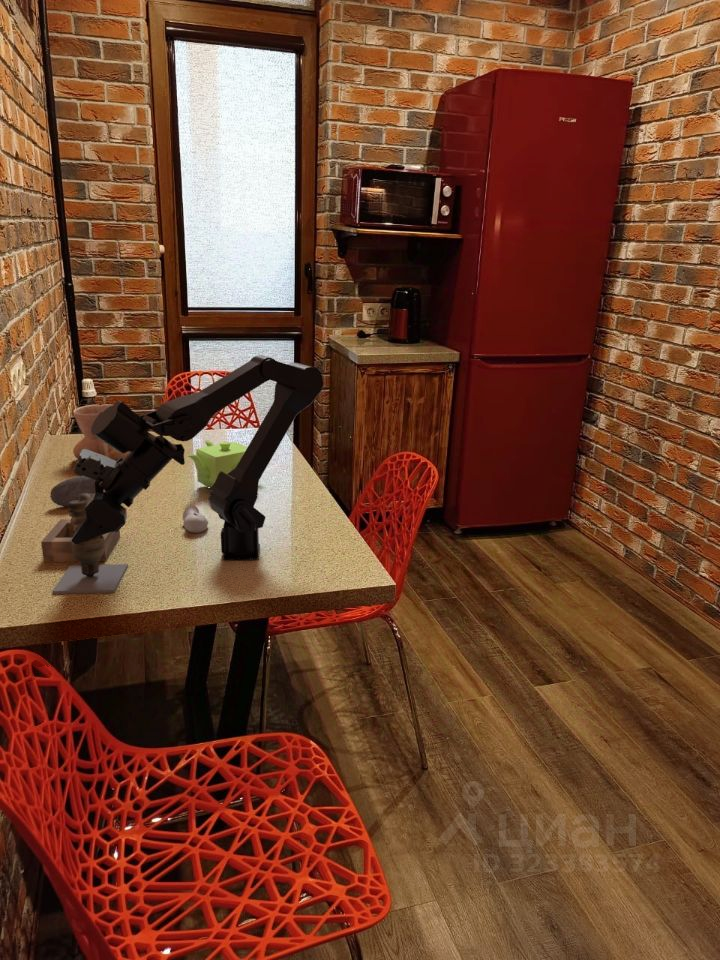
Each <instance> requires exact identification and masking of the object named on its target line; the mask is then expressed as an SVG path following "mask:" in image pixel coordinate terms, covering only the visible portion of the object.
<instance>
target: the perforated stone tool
mask: <svg viewBox="0 0 720 960" xmlns="http://www.w3.org/2000/svg"><path fill="white" fill-rule="evenodd" d="M50 490H51V491H50V495H49V496H50V501H52V502H53V503H54V504H56V505H57V506H60V507H68V503H69V502H70V501H74V500H80V499H79V496H80V494H84V493H89V494H95V480H94V479H91V478H88V477H85V476H79V475H76V476H75V477H71V478H68V479H65V480H64V481H63V480H62V481H61V482H59V483H56V485H54V486H53V487H52V488H51V489H50Z"/></svg>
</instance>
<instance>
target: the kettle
mask: <svg viewBox="0 0 720 960" xmlns="http://www.w3.org/2000/svg"><path fill="white" fill-rule="evenodd" d="M204 443H205V445H206V446H204V447H198V448H196V449H195V453H190V454H185V456H186V457H188V458H190V459H191V460H192V461H193V463H194V465H195V469H196V474H197V475H196V476H197V477H196V478H197V482H198V483H199V484H202V485H204V486H205V487H206V486H207V487H211V486H213V484H214V483H215V481H216V479H217V476H218V474H219V473H220V472H221V471H222V472H224V473H226V474H228V473H229V472H231V471H232V470H234V469H235V468H236V466H237V465H238V463H239V461H240V460H241V458H242V456H243V454H244V453H245V451H246V449H247V448H248V446H247V445H246V446H245V445H243V444H241V443H238V442H236V441H232V442H229V441H221V442H219V444H215V445H214V444H213V443H212V441H211V440H209V439H204ZM207 487H206V488H207Z"/></svg>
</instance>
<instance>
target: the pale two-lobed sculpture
mask: <svg viewBox="0 0 720 960" xmlns="http://www.w3.org/2000/svg"><path fill="white" fill-rule="evenodd" d="M182 519H183V526H184V528H185V529H186V530H187V531H188V532H190V533H193V534H194V533H195V534H197V533H202V532H205V530H206V529H207V528H208V525H209V521H208V520H207V518H206V517H205V516H204V515H203V514H202V513H200V510H199V508H198V506H197V505H195V504H191V505H188V506H187V507H186V508H185V509H184V511H183V512H182Z"/></svg>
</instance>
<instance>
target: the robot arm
mask: <svg viewBox="0 0 720 960" xmlns="http://www.w3.org/2000/svg"><path fill="white" fill-rule="evenodd" d="M323 377H324V376H323V375H322V372H321V371H320V369H318V368H317V367H315V366H311V365H306V364H303V363H298V362H291V363H283V362H281V361H278V360H275V359H274V358H272V357H269V356H266V355H262V354H257V355H255V356H253V357H252V358H251V359H250V360H249V361H247V362H246V363H244V364H243V365H240V366H239V367H237V368H236V369H234V370H232V371H231V372H229V373H228V374H226V375H224V376H223V377H221V378H219V379H217V380H216V381H215V382H212V384H210V385H208V386H206V387H204V388H202V389H201V390H200V391H197V392H194V393H191V394H186V395H182V396H178V397H176V398H174V399H170V400H168V401H165V402H164V403H162V404H160V405H159V406H158V407H157V409H156V410H153V411H150V412H147V413H143V414H140V415H138V413H136V412H135V411H133V410H132V409H131V408H130V407H129V405H127V404H126V403H124V402H123V401H121V400H119V399H117V400H116V401H115V402H114V403H113V404H111V405H112V406H110V407H108V408H107V409H106V410H104V411H103V412H102V413H100V414H99V415H98V416H97V418H96V419H95V421H94V423H93V425H92V428H91V433H92V434H93V435H95V436H96V437H98V438H99V439H101V440H102V441H104V442H105V443H107V444H108V445H110V446H111V447H112V448H114V449H115V450H117V451H118V452H120V453H126V452H128V451H130V453H129V454H128V455H127V456H125V455H124V456H123V457H122V456H121V457H120V458H119V459H118V460H117V461H115V460H113V459H110V458H108V457H106V456H104V455H101V454H98V453H95V452H93V451H90V450H87V449H82V451H81V453H80V455H79V457H78V459H76V463H75V465H74V468H73V470H72V473H74V474H75V475H76V476H85V477H88V478H91V479H94V480H95V494H94V495H93V496H92V497H91V498H90V500H89V501H88V502H87V503H86V506H85V512H86V518H85V520H84V521H83V523H82V524H81V526H80V527H79V529H78V530H77V532H76V533H75V535H74V537H73V538H72V540H71V541H72V542H73V543H74V544H76V545H77V544H80V543H82V542H85V541H87V540H90V539H92V538H95V537H98V536H100V535H103V534H106V533H109V532H118V531H119V530H121V529H122V528H123V527H124V526H125V525H126V522H127V518H128V513H127V508H130V506H132V505H133V503H134V500H135V498H136V497H137V496H138V495H139V494H140V493H141V492H142V491H143V490H145V491H146V490H148V488H149V487H150V485H151V481H153V479H155V478H156V476H157V475H159V473H160V472H161V471H162V470H164V468H165V467H166V466H167V465H168V464H169V463H170V462H171V461H172V460H173V461H175V462H176V463H178V464H179V465H182V466H184V465H185V464H186V462H185V451H186V450H185V447H184V446H183V444H182V443H179V444H178V443H173V442H171V441H170V440H169V439H167V438H166V437H170V438H172V439H173V440H176V441H179V442H187V441H190V440H192V439H194V438H195V437H196V436H197V435H198V434H200V432H201V431H203V430H204V429H205V428H206V427H207V426H208V424H209V422H210V421H211V419H212V418H213V417H214V416H215V415H216V414H217V413H218V412H220V411H223V409H225V408H227V407H228V406H229V405H231V404H233V403H235V402H236V401H238V400H239V399H241V398H242V397H245V395H247V394H248V393H250V392H252V391H254V390H255V389H257V388H258V387H260V386H261V385H263V384H264V383H266V382H268V381H273V382H275V386H274V396H273V398H274V399H273V402H272V405H270V408H269V409H268V411H267V413H266V415H265V417H264V419H263V420H262V421H261V423H260V425H259V427H258V428H257V430H256V432H255V434H254V435H253V437H252V439H251V441H250V443H249V444H248V446H247V447H248V448H247V449H246V451H245V453H244V454H243V456H242V458H241V460H240V461H239V463H238V465H237V466H236V468H235V469H234V470H232V471H231V472H229V473H228V474H226V473H224V472H222V471H221V472H220V473H219V474H218V476H217V479H216V481H215V483H214V484H213V486H211V487H210V488H208V490H209V491H210V493H209V494H208V495H209V496H208V503H209V507H210V508H211V510H212V511H213V512H215V513H217V515H218V517H219V519H221V520H223V521H224V523H223V527H222V528H221V531H220V549H221V550H220V551H221V553H222V554H223V556H222V557H223V561H231V560H233V561H234V560H237V561H238V560H239V561H240V560H244V561H245V560H258V559H259V557H260V549H261V544H260V542H259V541H260V539H259V538H260V537H259V536H260V535H259V529H261V528H263V527H264V525H265V521H266V516H265V515H264V514H263V513H262V512H260V511H259V510H258V509H257V508H255V504H256V502H257V500H258V494H259V493H258V491H259V482H260V479H261V477H262V476H263V474H264V472H265V471H266V468H267V467H268V465H269V464H270V462H271V460H272V458H273V456H274V455H275V453H276V451H277V450H278V448H279V447H280V445H281V444H282V443H281V442H283V440H284V438H285V436H286V434H287V432H288V431H289V428H291V426H292V424H293V422H294V420H295V418H296V416H297V415H298V414H299V413H301V412H303V410H305V409H306V408H308V407H309V406H310V405H312V404H313V402H314V401H315V400H316V398H317V397H318V396H319V395H320V393H321V392H322V390H323V388H324V384H325V382H324V378H323ZM149 430H150V431H151V432H153V433H155V434H156V435H157V436H156V435H154V434H152V433H151V432H149ZM123 504H124V505H125V506H126V507H124V506H123Z"/></svg>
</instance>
